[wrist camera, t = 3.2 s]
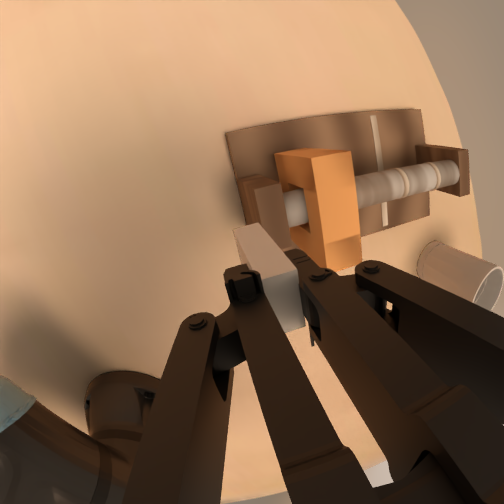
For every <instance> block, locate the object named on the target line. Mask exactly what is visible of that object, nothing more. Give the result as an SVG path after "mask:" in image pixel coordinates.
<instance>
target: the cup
mask: <svg viewBox="0 0 504 504" xmlns="http://www.w3.org/2000/svg"><path fill="white" fill-rule="evenodd" d="M417 273H418V276H419V277H420V278H421V279H422V280H425V281H427V282H429V283H431V284H433V285H436V286H438V287H440V288H442V289H444V290H447V291H449V292H451V293H453V294H455V295H457V296H460V297H462V298H464V299H466V300H468V301H470V302H472V303H474V304H477V305H479V306H481V307H483V308H485V309H487V310H489V311H492V309H493V308H494V306H495V304H496V302H497V300H498V298H499V296H500V293H501V290H502V287H503V282H504V272H503V269H502V268H501V267H500V266H497V265H495V264H492V263H490V262H487V261H485V260H482V259H479V258H477V257H475V256H472V255H470V254H467V253H465V252H462V251H460V250H457V249H455V248H452V247H450V246H447V245H445V244H443V243H441V242H439V241H433V242H431V243H429V244H428V245H427V246H426V247H425V248H424V250H423V251H422V253H421V255H420V257H419V260H418V264H417Z"/></svg>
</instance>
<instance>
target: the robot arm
mask: <svg viewBox="0 0 504 504" xmlns="http://www.w3.org/2000/svg"><path fill="white" fill-rule="evenodd" d="M233 232H234V236H235V240H236V244H237V248H238V252H239V256H240V260H241V264H242V265H238V266H235V267H231V268H228V269H226V270H225V272H224V274H223V275H224V279H225V286H226V290H227V293H228V297H229V300H230V306H229V308H228V309H227V310H226V311H225V312H224V313H222V314H220V315H219V316H217V317H215V316H214V315H213V314H211V313H207V312H201V313H197V314H193V315H191V316H189V317H187V318H186V319H185V320H184V321H183V322H182V324H181V325H180V328H179V330H178V333H177V336H176V338H175V341H174V344H173V347H172V349H171V352H170V355H169V358H168V360H167V363H166V366H165V369H164V372H163V375H162V377H161V380H158V379H156V378H154V377H151V376H148V375H145V374H141V373H135V372H127V371H117V372H110V373H106V374H103V375H100V376H98V377H96V378H95V379H94V380H93V381H92V382H91V383H90V384H89V386H88V388H87V392H86V396H85V400H84V408H85V415H86V421H87V427H88V432H89V435H87V434H85V433H84V432H82V431H80V430H79V429H77V428H75V427H74V426H72V425H71V424H69V423H68V422H66V421H65V420H63V419H62V418H60V417H59V416H57V415H56V414H54V413H53V412H52V411H50V410H49V409H47V408H46V407H45V406H43V405H42V404H41V403H39V402H38V401H37V400H36V398H35V397H34V396H33V395H29V394H27V393H26V392H25V391H23V390H22V389H21V388H19V387H18V386H17V385H15V384H14V383H13V382H12V381H10V380H9V379H8V378H6V377H4V376H0V504H220V500H221V490H222V480H223V471H224V461H225V452H226V442H227V433H228V424H229V414H230V405H231V396H232V386H233V377H234V368H233V367H235V366H236V365H238V364H240V363H242V362H244V361H245V360H247V363H248V366H249V370H250V373H251V377H252V380H253V383H254V387H255V390H256V393H257V396H258V400H259V403H260V406H261V409H262V413H263V416H264V419H265V422H266V425H267V428H268V431H269V435H270V438H271V441H272V444H273V447H274V450H275V453H276V456H277V459H278V462H279V465H280V468H281V472H282V476H283V479H284V482H285V485H286V488H287V490H288V493H289V496H290V499H291V502H292V504H504V426H503V424H504V318H503V317H501V316H499V315H497V314H495V313H493V312H491V311H489V310H487V309H485V308H483V307H481V306H479V305H477V304H474V303H472V302H470V301H468V300H466V299H464V298H462V297H460V296H457V295H455V294H453V293H451V292H449V291H447V290H444V289H442V288H440V287H438V286H436V285H433V284H431V283H429V282H427V281H425V280H422V279H420V278H418V277H416V276H413V275H411V274H409V273H406V272H404V271H402V270H399V269H397V268H395V267H393V266H390V265H388V264H386V263H383V262H380V261H375V260H367V261H364V262H361V263H359V264H358V265H356V267H355V274H353V275H346V276H339V275H338V274H337V273H335V272H334V271H333V270H331V269H329V268H320V267H319V266H318V265H317V264H316V263H315V262H314V261H313V260H312V259H311V258H310V257H309V256H308V255H307V254H306V253H305V252H304V251H302V250H299V249H296V248H295V249H292V250H288V251H285V252H283V251H282V250H281V249H280V248H279V247H278V245H277V244H276V243H275V242H274V241H273V239H272V238H271V237H270V236H269V235H268V233H267V232H266V231H265V230H264V229H263V228H262V226H261V225H260V224H259V223H254V224H250V225H247V226H243V227H239V228H236V229H233ZM387 301H388V302H390V303H392V304H393V305H392V311H391V310H389V309H387V308H386V305H387ZM304 316H305V318H306V319H307V321H308V324H309V332H310V339H311V345H312V346H314V340H315V342H316V343H317V345H318V347H319V348H320V350H321V351H322V353H323V355H324V356H325V358H326V360H327V361H328V363H329V364H330V366H331V368H332V369H333V371H334V373H335V374H336V376H337V378H338V379H339V381H340V382H341V384H342V386H343V387H344V389H345V391H346V392H347V394H348V396H349V397H350V399H351V400H352V402H353V404H354V405H355V407H356V409H357V410H358V412H359V414H360V415H361V417H362V419H363V420H364V422H365V423H366V425H367V427H368V428H369V430H370V432H371V433H372V435H373V437H374V438H375V440H376V442H377V443H378V445H379V447H380V448H381V450H382V452H383V453H384V455H385V457H386V459H387V461H388V465H389V471H390V474H391V477H392V479H393V481H394V482H393V483H390V484H386V485H382V486H379V487H375V488H372V486H371V484H370V482H369V480H368V478H367V477H366V475H365V473H364V471H363V469H362V467H361V465H360V464H359V462H358V460H357V458H356V457H355V455H354V453H353V452H352V451H351V449H350V448H349V447H346V446H344V445H343V444H342V443H341V441H340V439H339V437H338V435H337V434H336V432H335V430H334V428H333V426H332V424H331V422H330V420H329V418H328V416H327V414H326V412H325V410H324V408H323V406H322V405H321V403H320V401H319V399H318V397H317V395H316V393H315V391H314V389H313V387H312V385H311V383H310V381H309V379H308V377H307V375H306V373H305V371H304V370H303V368H302V366H301V364H300V362H299V360H298V358H297V356H296V354H295V352H294V350H293V348H292V346H291V344H290V342H289V340H288V338H287V336H286V334H285V333H287V332H290V331H293V330H296V329H299V328H302V327H305V326H306V325H305V318H304Z"/></svg>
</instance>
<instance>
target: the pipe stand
mask: <svg viewBox="0 0 504 504" xmlns="http://www.w3.org/2000/svg"><path fill="white" fill-rule="evenodd" d="M225 134H226V138H227V143H228V147H229V151H230V155H231V160H232V164H233V168H234V173H235V177H236V181H237V185H238V190H239V194H240V198H241V203H242V207H243V211H244V215H245V220H246V224H247V225H250V224H254V223H259V224H260V225H261V226H262V228H263V229H264V230H265V231H266V232H267V233H268V235H269V236H270V237H271V238H272V239H273V241H274V242H275V243H276V244H277V245H278V247H279V248H280V249H281V250H282V251H283V252H285V251H288V250H292V249H295V248H296V249H299V250H301V249H300V248H299V247H298V246H297V245H296V244H295V243H294V242H293V241H292V240H291V236H290V230H289V228H290V227H294V226H298V225H301V224H305V223H309V219H308V213H307V207H306V201H305V195H304V189H303V188H301V189H296V190H292V191H288V192H284V193H282V187H281V183H280V181H279V176H278V171H277V166H276V161H275V156H274V154H275V153H280V152H285V151H290V150H295V149H301V148H318V149H333V150H346V151H351V156H352V162H353V170H354V177H355V185H356V193H357V203H358V212H359V224H360V236H361V237H363V236H366V235H369V234H372V233H376V232H379V231H382V230H385V229H388V228H392V227H395V226H398V225H401V224H404V223H407V222H410V221H414V220H417V219H420V218H423V217H426V216H429V215H430V209H429V191H432V190H439V191H442V192H446V193H449V194H452V195H456V196H459V197H461V196H465V195H468V194H470V178H469V156H468V150H466V149H460V148H453V147H446V146H437V145H428V144H425V135H424V128H423V121H422V114H421V109H409V110H383V111H368V112H355V113H344V114H335V115H326V116H318V117H311V118H303V119H297V120H290V121H284V122H278V123H273V124H267V125H262V126H257V127H252V128H247V129H242V130H237V131H233V132H228V133H225Z"/></svg>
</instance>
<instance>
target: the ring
mask: <svg viewBox="0 0 504 504" xmlns="http://www.w3.org/2000/svg"><path fill="white" fill-rule="evenodd" d="M274 156H275V161H276V166H277V171H278V176H279V181H280V183H281V187H282V193H284V192H288V191H292V190H296V189H301V188H303V189H304V195H305V201H306V207H307V213H308V219H309V223H305V224H301V225H298V226H294V227H290V228H289V230H290V236H291V240H292V241H293V242H294V243H295V244H296V245H297V246H298V247H299V248H300V249H301V250H302V251H304V252H305V253H306V254H307V255H308V256H309V257H310V258H311V259H312V260H313V261H314V262H315V263H316V264H317V265H318V266H319V267H320V268H329V269H331V270H333V271H334V272H337V271H340V270H343V269H346V268H349V267H352V266H355V265H358V264H359V263H361V262H362V251H361V236H360V224H359V212H358V203H357V193H356V185H355V177H354V170H353V162H352V156H351V151H346V150H333V149H318V148H301V149H295V150H290V151H285V152H280V153H275V154H274Z"/></svg>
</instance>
